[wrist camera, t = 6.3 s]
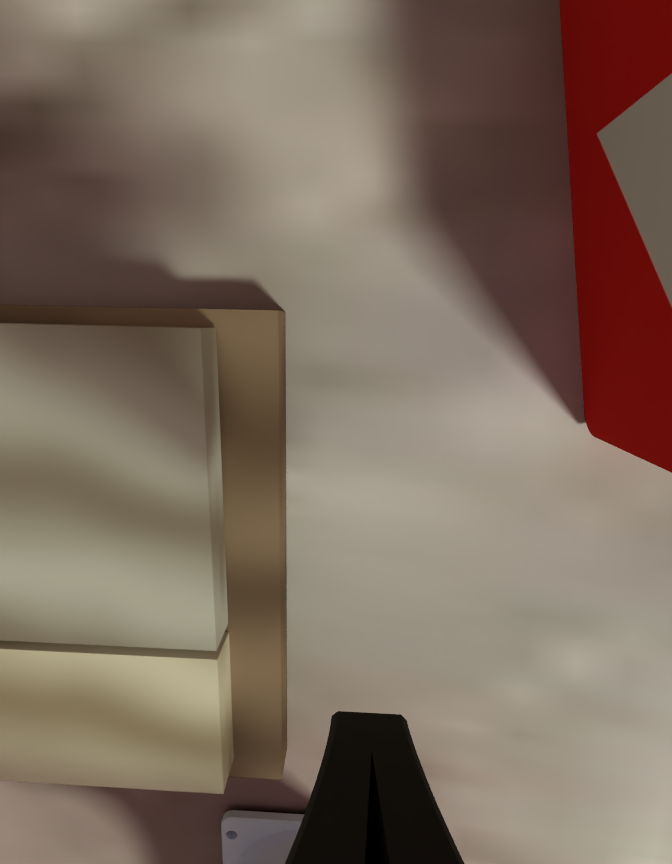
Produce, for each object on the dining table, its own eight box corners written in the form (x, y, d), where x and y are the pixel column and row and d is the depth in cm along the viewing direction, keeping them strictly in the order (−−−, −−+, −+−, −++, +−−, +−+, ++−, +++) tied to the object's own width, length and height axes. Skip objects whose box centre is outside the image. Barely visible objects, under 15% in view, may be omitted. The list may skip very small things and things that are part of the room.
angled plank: (228, 623, 17) (216, 651, 16) (-125, 606, 18) (-168, 632, 16) (216, 327, 15) (200, 328, 13) (-198, 318, 15) (-257, 318, 14)
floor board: (287, 747, 20) (275, 817, 17) (-98, 725, 21) (-170, 789, 18) (285, 312, 16) (269, 308, 13) (-199, 301, 17) (-317, 296, 14)
